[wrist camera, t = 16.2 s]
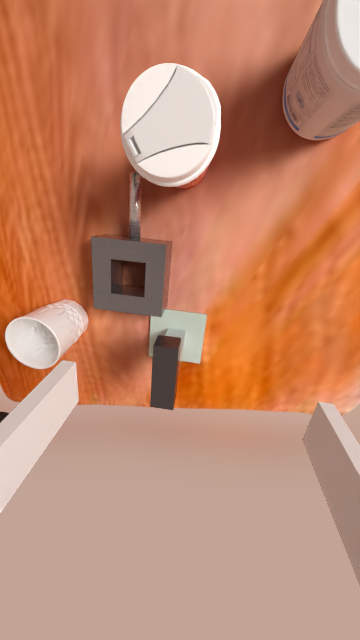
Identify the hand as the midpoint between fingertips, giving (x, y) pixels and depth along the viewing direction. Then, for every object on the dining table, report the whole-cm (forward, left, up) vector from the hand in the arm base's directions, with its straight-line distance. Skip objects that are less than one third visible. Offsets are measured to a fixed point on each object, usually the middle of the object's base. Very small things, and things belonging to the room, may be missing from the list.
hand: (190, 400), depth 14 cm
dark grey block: (+9, -3, -27) cm, 28 cm away
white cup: (+9, -22, -27) cm, 36 cm away
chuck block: (-5, -10, -27) cm, 29 cm away
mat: (+9, -3, -27) cm, 29 cm away
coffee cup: (-16, -4, -27) cm, 32 cm away
